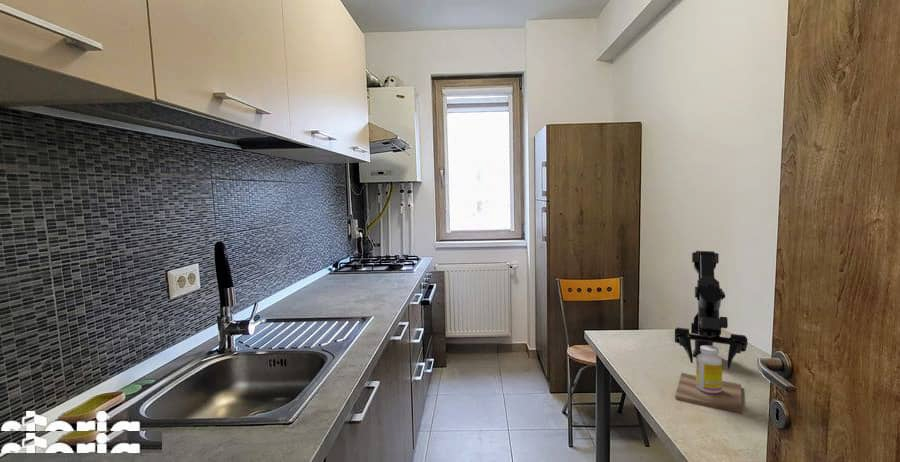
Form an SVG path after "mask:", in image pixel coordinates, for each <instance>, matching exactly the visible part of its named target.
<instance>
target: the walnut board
mask: <svg viewBox="0 0 900 462" xmlns="http://www.w3.org/2000/svg"><path fill="white" fill-rule="evenodd" d="M679 377H680V378H679V380H678V381H679V382H678V385H677V387H676V392H675V396H674V398H675V399H676V400H681V401H684V402H689V403H692V404H696V405H697V404H698V405H702V406H706V407H711V408H714V409H715V408H716V409H720V410H724V411H727V412H729V411H730V412H732V413H733V412H734V413H736V414H737V413H738V414H741V415H742V413H743V412H742V411H743V408H742V406H743V405H742V383H736V382H731V381H727V380H722V391H721V392H720V393H715V394H712V393H706V392H703V391H701V390H699V389H698V388H697V387H696V374H691V373H686V372H681V374H680V376H679Z"/></svg>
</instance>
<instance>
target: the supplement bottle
mask: <svg viewBox="0 0 900 462" xmlns="http://www.w3.org/2000/svg"><path fill="white" fill-rule="evenodd" d="M700 351H701V353H700V354H698V355H697V357H696V356H695V357H696V358H695V359H696V360H695V361H696V362H695V363H696V364H695V366H696V367H695V375H696V387H697V388H698V389H699V390H701V391H703V392H706V393H712V394H715V393H720V392H721V391H722V381H723V360H722V358H721V357H720V356H719V348H718V347H717V346H714V345H713V346H709V345H702V346H700Z"/></svg>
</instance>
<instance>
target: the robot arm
mask: <svg viewBox="0 0 900 462" xmlns="http://www.w3.org/2000/svg"><path fill="white" fill-rule="evenodd" d="M719 254H720V253H716V252H715V251H714V250H695V252H693V251H692V253H691V263H692V264H693V268H694V270H695V271H696V273H697V274H698V280H697V283H696V286H694V298H696V299H697V302H698V303H697V305H698V306H697V308H698V309H697V312H696V314H695V316H694V317H693V321H692V322H691V324H690V328H685V327H684V328H683V327H676V328H674V343H675V344H678V345H679V346H682V347H683V349H684V351H685V352H686V354H687V356H688V360H689V361H690V363H691V364H693V362H694V361H693V358H694V357H697V355H698V354H700V353H701V351H700V346H702V345H709V346H714V343H716V344H721V345H722V344H723V345H729V348H728V354H727V355H728V356H727V362H726V364H727V365H726V366H727V367H726V368H727V369H729V370H730V368H731V364H732V362H733V360H734V358H735V356H736V354H741V352H746V351H747V347H748V344H749V342H748V338H747V336H746V335H744V334H737V333H731V334H730V337H724V336H721V335H722V329H728V325H729V324H728V321H729V320H728V317H727V316H720V308H721V303H722V301H723V300H724V299H726V294H725V291H723V288H720V287H721V285H720V281H719V280H717V279H716V278H715V270H716V266H717V265H718V264H719V261H720V260H719V259H720V258H719V256H720V255H719ZM691 340H692V341H694V349H692V342H691Z"/></svg>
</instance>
